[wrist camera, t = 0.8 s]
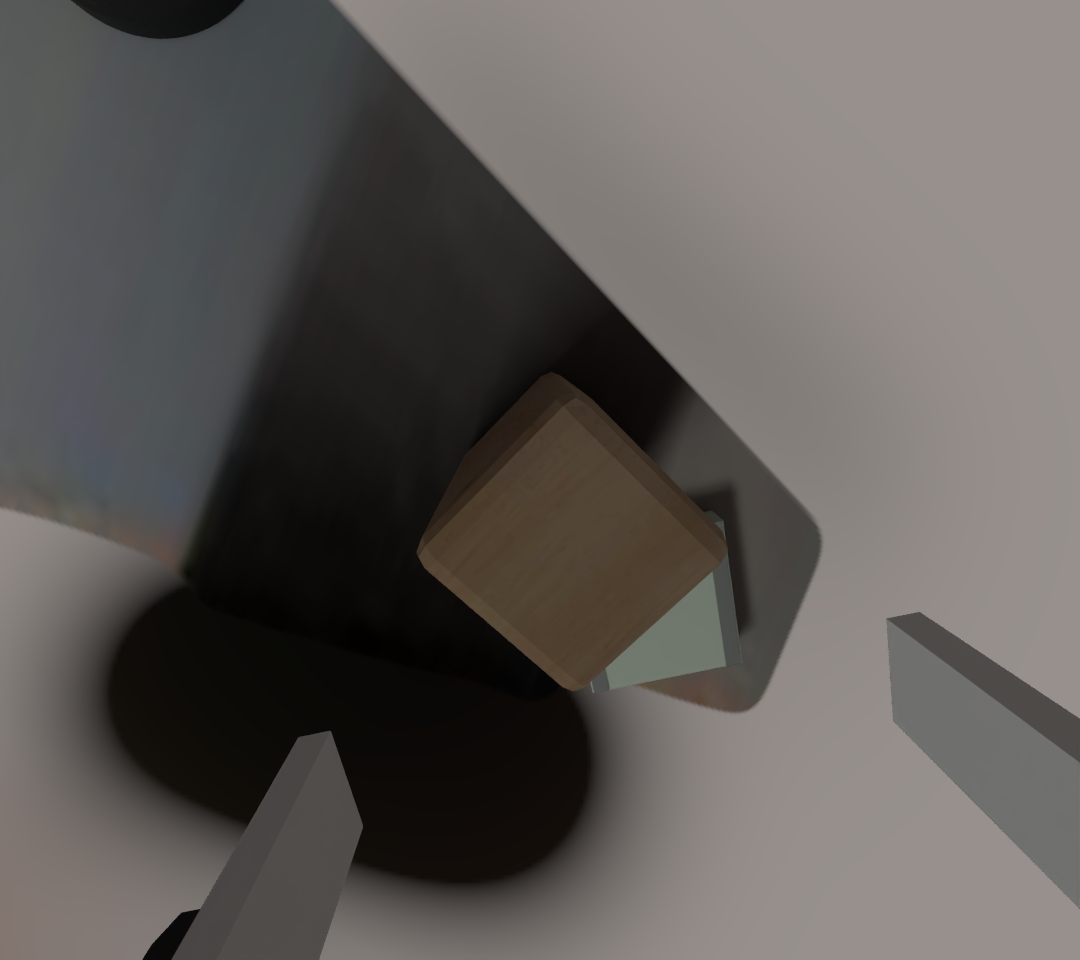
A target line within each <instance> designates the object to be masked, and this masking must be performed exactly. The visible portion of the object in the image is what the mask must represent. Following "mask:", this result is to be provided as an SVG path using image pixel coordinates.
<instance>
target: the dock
mask: <svg viewBox="0 0 1080 960" xmlns="http://www.w3.org/2000/svg"><path fill="white" fill-rule="evenodd" d="M704 513H705V514H706V515H707V516H708V517H709V518H710V519H711V520H712V521H713V522H714V523H715V524H716V525H717V526H718V527H719V528H720V529H721V530H722V532H723V535H724V537H725V531H724V524H723V520H722V519H721V518H720V517H719V516H718V515H716V514H715V513H714V512H713V511H712V510H711V511H707V512H704ZM725 540H726V539H725ZM737 664H742V656H741V649H740V642H739V634H738V627H737V620H736V612H735V605H734V598H733V590H732V583H731V575H730V568H729V561H728V553H727V554H726V556H725V558H724V559H723V561H722V563H721V564H720V565H719V566H718V567H717V568H716V569H714V570H713V571H712V572H711V573H710V574H709V575H708V576H707V577H706V578H705V579H703V580H702V581H701V582H700V583H699V584H698V585H697V586H696V587H695V588H693V589H692V590H691V591H690V592H689V593H688V594H687V595H686V596H685V597H684V598H682V599H681V600H680V601H679V602H678V603H677V604H676V605H675V606H674V607H673V608H671V609H670V610H669V611H668V612H667V613H666V614H665V615H664V616H663V617H661V618H660V619H659V620H658V621H657V622H656V623H655V624H654V625H653V626H652V627H650V628H649V629H648V630H647V631H646V632H645V633H644V634H643V635H642V636H641V637H639V638H638V639H637V640H636V641H635V642H634V643H633V644H632V645H631V646H630V647H628V648H627V649H626V650H625V651H624V652H623V653H622V654H621V655H620V656H618V657H617V658H616V659H615V660H614V661H613V662H612V663H611V664H610V665H609V666H607V667H606V668H605V669H604V670H603V671H602V672H601V673H600V674H599V675H598V676H596V677H595V678H594V679H593V680H592V681H591V687H592V691H593V693H599V692H604V691H608V690H610V689H615V688H620V687H624V686H629V685H634V684H639V683H644V682H649V681H654V680H659V679H664V678H669V677H674V676H679V675H684V674H689V673H694V672H698V671H703V670H708V669H713V668H718V667H723V666H726V667H727V666H732V665H737Z"/></svg>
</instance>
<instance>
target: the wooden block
mask: <svg viewBox="0 0 1080 960" xmlns="http://www.w3.org/2000/svg"><path fill="white" fill-rule="evenodd" d="M727 552H728V546H727V543H726V540H725V537H724V535H723V532H722V530H721V529H720V528H719V527H718V526H717V525H716V524H715V523H714V522H713V521H712V520H711V519H710V518H709V517H708V516H707V515H706V514H705V513H704V512H703V511H702V510H701V509H700V508H699V507H698V506H697V505H696V504H695V503H694V502H693V501H692V500H691V499H690V498H689V497H688V496H687V495H686V494H685V493H684V492H683V491H682V490H681V489H680V488H679V487H678V486H677V485H676V484H675V483H674V482H673V481H672V480H671V479H670V477H669V476H668V475H667V474H666V473H665V472H664V471H663V470H662V469H661V468H660V467H659V466H658V465H657V464H656V463H655V462H654V461H653V460H652V459H651V458H650V457H649V456H648V455H647V454H646V453H645V452H644V451H643V450H642V449H641V448H640V447H639V446H638V445H637V444H636V443H635V442H634V441H633V440H632V439H631V438H630V437H629V436H628V435H627V434H626V433H625V432H624V431H623V430H622V429H621V428H620V427H619V426H618V425H617V424H616V423H615V422H614V421H613V420H612V419H611V418H610V417H609V416H608V415H607V414H606V413H605V412H604V411H603V410H602V409H601V408H600V407H599V406H598V405H597V404H596V403H595V402H594V401H593V400H592V399H591V398H590V397H589V396H587V395H586V394H585V393H583V392H582V391H581V390H579V389H578V388H577V387H575V386H574V385H573V384H571V383H570V382H568V381H567V380H566V379H564V378H563V377H562V376H560V375H558V374H555V373H553V372H550V373H547V374H545V375H543V376H541V377H540V378H539V379H538V380H537V381H536V382H535V383H534V384H533V385H532V386H531V387H530V388H529V389H528V390H527V391H526V392H525V393H524V395H523V396H522V397H521V398H520V399H519V400H518V401H517V402H516V403H515V404H514V405H513V406H512V407H511V408H510V409H509V410H508V411H507V412H506V413H505V414H504V415H503V416H502V417H501V418H500V419H499V420H498V421H497V422H496V423H495V425H494V426H493V427H492V428H491V429H490V430H489V431H488V432H487V433H486V434H485V435H484V436H483V437H482V438H481V439H480V440H479V441H478V442H477V443H476V444H475V445H474V446H473V447H472V448H471V449H470V450H469V451H468V452H467V454H466V455H465V456H464V458H463V460H462V462H461V463H460V465H459V467H458V469H457V471H456V473H455V475H454V477H453V479H452V481H451V483H450V485H449V486H448V488H447V490H446V492H445V494H444V496H443V498H442V500H441V502H440V504H439V506H438V508H437V509H436V511H435V513H434V515H433V517H432V519H431V521H430V523H429V525H428V527H427V529H426V531H425V532H424V534H423V536H422V539H421V542H420V544H419V547H418V550H417V555H418V557H419V559H420V560H421V562H422V564H423V566H424V568H425V569H426V570H428V571H429V572H430V573H431V574H432V575H433V576H435V577H436V578H437V579H438V580H439V581H440V582H441V583H443V584H444V585H445V586H446V587H447V588H448V589H450V590H451V591H452V592H453V593H454V594H455V595H457V596H458V597H459V598H460V599H461V600H462V601H464V602H465V603H466V604H467V605H468V606H469V607H470V608H472V609H473V610H474V611H475V612H476V613H477V614H479V615H480V616H481V617H482V618H483V619H484V620H486V621H487V622H488V623H489V624H490V625H491V626H493V627H494V628H495V629H496V630H497V631H498V632H499V633H501V634H502V635H503V636H504V637H505V638H506V639H508V640H509V641H510V642H511V643H512V644H513V645H515V646H516V647H517V648H518V649H519V650H520V651H521V652H523V653H524V654H525V655H526V656H527V657H528V658H530V659H531V660H532V661H533V662H534V663H535V664H537V665H538V666H539V667H540V668H541V669H542V670H544V671H545V672H546V673H547V674H548V675H549V676H550V677H552V678H553V679H554V680H555V681H556V682H557V683H559V684H560V685H561V686H562V687H564V688H566V689H569V690H572V691H576V690H578V689H581V688H583V687H585V686H586V685H587V684H588V683H590V682H591V681H592V680H593V679H594V678H595V677H596V676H598V675H599V674H600V673H601V672H602V671H603V670H604V669H605V668H606V667H607V666H609V665H610V664H611V663H612V662H613V661H614V660H615V659H616V658H617V657H618V656H620V655H621V654H622V653H623V652H624V651H625V650H626V649H627V648H628V647H630V646H631V645H632V644H633V643H634V642H635V641H636V640H637V639H638V638H639V637H641V636H642V635H643V634H644V633H645V632H646V631H647V630H648V629H649V628H650V627H652V626H653V625H654V624H655V623H656V622H657V621H658V620H659V619H660V618H661V617H663V616H664V615H665V614H666V613H667V612H668V611H669V610H670V609H671V608H673V607H674V606H675V605H676V604H677V603H678V602H679V601H680V600H681V599H682V598H684V597H685V596H686V595H687V594H688V593H689V592H690V591H691V590H692V589H693V588H695V587H696V586H697V585H698V584H699V583H700V582H701V581H702V580H703V579H705V578H706V577H707V576H708V575H709V574H710V573H711V572H712V571H713V570H714V569H716V568H717V567H718V566H719V565H720V564H721V563H722V561H723V559H724V558H725V556H726V554H727Z"/></svg>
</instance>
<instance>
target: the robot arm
mask: <svg viewBox="0 0 1080 960" xmlns="http://www.w3.org/2000/svg"><path fill="white" fill-rule="evenodd" d="M71 1H73V2H74V3H75V4H76V5H78V6H79V7H80V8H82V9H83V10H84V11H86V12H87V13H88V14H90V15H91V16H93V17H94V18H96V19H98V20H99V21H101V22H103V23H105V24H107V25H109V26H111V27H113V28H115V29H118V30H120V31H123V32H126V33H129V34H133V35H137V36H141V37H147V38H158V39H168V38H178V37H184V36H188V35H192V34H195V33H198V32H200V31H203V30H205V29H207V28H209V27H211V26H213V25H214V24H216V23H218V22H219V21H221V20H222V19H223V18H225V17H226V16H227V15H228V14H229V13H231V12H232V11H233V10H234V9H235V8H236V7H237V6H238V5H239V3H240V2H241V1H242V0H71ZM887 634H888V649H889V665H890V681H891V696H892V711H893V721H894V722H895V723H896V724H897V725H898V726H899V727H900V728H901V729H902V730H903V731H904V732H905V733H906V734H907V735H908V736H909V737H910V738H911V739H912V740H913V741H914V742H915V743H916V744H917V745H918V746H919V747H920V748H921V749H922V750H923V751H924V752H925V753H926V754H927V755H928V757H929V758H930V759H931V760H933V762H934V763H936V764H937V766H938V767H939V768H940V769H941V770H942V771H943V772H944V773H945V774H946V775H947V776H948V777H949V778H950V779H951V780H952V781H953V782H954V783H955V784H956V785H957V786H958V787H959V788H960V789H961V790H962V791H963V792H965V794H966V795H967V796H968V797H969V798H970V799H971V800H972V801H973V802H974V803H975V804H976V805H977V806H978V807H979V808H980V809H981V810H982V811H983V812H984V813H985V814H986V815H987V816H988V817H989V818H990V819H991V820H992V821H993V822H994V823H995V824H996V825H997V826H998V827H999V828H1000V829H1001V830H1002V831H1003V832H1004V833H1005V834H1006V835H1007V836H1008V837H1009V838H1010V839H1011V840H1012V841H1013V842H1014V843H1015V844H1016V845H1017V846H1018V847H1019V848H1020V849H1021V850H1022V851H1023V852H1024V853H1025V854H1026V855H1027V856H1028V857H1029V858H1030V859H1031V860H1032V861H1033V862H1034V863H1035V864H1036V865H1037V866H1038V867H1039V868H1040V869H1041V870H1042V871H1043V872H1044V873H1045V874H1046V875H1047V876H1048V877H1049V878H1050V879H1051V880H1052V881H1053V882H1054V883H1055V884H1056V885H1057V886H1058V888H1059V889H1060V890H1062V891H1063V893H1065V895H1067V897H1069V898H1070V900H1071V901H1072V902H1073V903H1074V904H1075V905H1076V906H1077V907H1078V908H1079V909H1080V719H1079V718H1078V717H1076V716H1075V715H1073V714H1071V713H1070V712H1069V711H1067V710H1066V709H1064V708H1063V707H1061V706H1060V705H1058V704H1057V703H1055V702H1054V701H1052V700H1051V699H1049V698H1048V697H1046V696H1045V695H1043V694H1042V693H1040V692H1039V691H1037V690H1036V689H1034V688H1033V687H1031V686H1030V685H1028V684H1027V683H1025V682H1024V681H1022V680H1021V679H1019V678H1018V677H1016V676H1015V675H1013V674H1012V673H1010V672H1009V671H1007V670H1005V669H1004V668H1003V667H1001V666H1000V665H998V664H997V663H995V662H994V661H992V660H991V659H989V658H988V657H986V656H985V655H983V654H982V653H980V652H979V651H977V650H975V649H974V648H973V647H971V646H970V645H968V644H967V643H965V642H964V641H962V640H961V639H959V638H958V637H956V636H955V635H953V634H952V633H950V632H949V631H947V630H946V629H944V628H943V627H941V626H940V625H938V624H937V623H935V622H934V621H932V620H931V619H929V618H928V617H926V616H925V615H923V614H922V613H920V612H918V613H913V614H907V615H903V616H897V617H892V618H887ZM362 828H363V825H362V822H361V819H360V816H359V813H358V810H357V807H356V804H355V801H354V799H353V796H352V792H351V790H350V787H349V784H348V781H347V778H346V775H345V772H344V769H343V766H342V763H341V761H340V757H339V754H338V752H337V749H336V746H335V743H334V740H333V737H332V734H331V732H330V731H328V732H323V733H318V734H313V735H308V736H303V737H299V738H298V739H297V741H296V743H295V745H294V747H293V748H292V750H291V752H290V754H289V755H288V757H287V759H286V760H285V762H284V764H283V766H282V767H281V769H280V771H279V773H278V775H277V776H276V778H275V780H274V781H273V783H272V785H271V787H270V788H269V790H268V792H267V794H266V795H265V797H264V799H263V801H262V803H261V804H260V806H259V808H258V809H257V811H256V813H255V815H254V816H253V818H252V820H251V822H250V823H249V825H248V827H247V829H246V830H245V832H244V834H243V836H242V837H241V839H240V841H239V843H238V844H237V846H236V848H235V850H234V851H233V853H232V855H231V857H230V858H229V860H228V862H227V864H226V866H225V867H224V869H223V871H222V872H221V874H220V876H219V878H218V879H217V881H216V883H215V885H214V886H213V888H212V890H211V892H210V894H209V895H208V897H207V899H206V900H205V902H204V904H203V905H202V907H201V909H198V910H193V911H188V912H183V913H181V914H180V915H179V916H178V917H177V918H176V919H175V920H174V921H173V922H172V923H171V925H169V927H168V928H167V929H166V930H165V931H164V932H163V933H162V934H161V935H160V936H159V937H158V938H157V940H156V941H155V942H154V943H153V944H152V945H151V947H150V948H149V950H148V951H147V953H146V955H145V956H144V958H143V960H319V958H320V955H321V951H322V949H323V946H324V942H325V940H326V936H327V934H328V930H329V927H330V924H331V921H332V918H333V915H334V912H335V909H336V906H337V903H338V900H339V897H340V894H341V891H342V888H343V885H344V882H345V879H346V876H347V873H348V870H349V867H350V864H351V861H352V858H353V855H354V852H355V849H356V846H357V843H358V840H359V837H360V834H361V831H362Z"/></svg>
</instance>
